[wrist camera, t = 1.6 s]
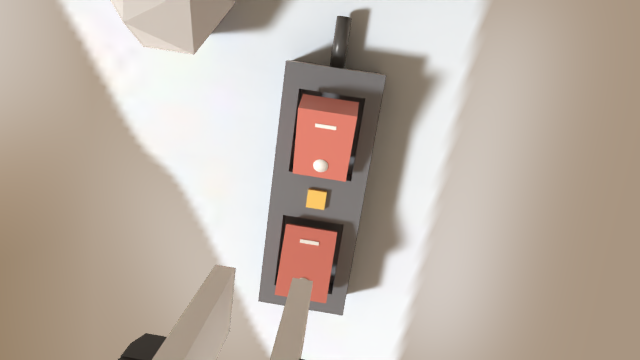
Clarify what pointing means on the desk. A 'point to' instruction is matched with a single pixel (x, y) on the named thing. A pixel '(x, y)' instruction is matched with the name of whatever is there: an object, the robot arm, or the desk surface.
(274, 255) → the power strip
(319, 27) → the desk surface
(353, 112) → the rocker
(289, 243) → the rocker
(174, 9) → the die
